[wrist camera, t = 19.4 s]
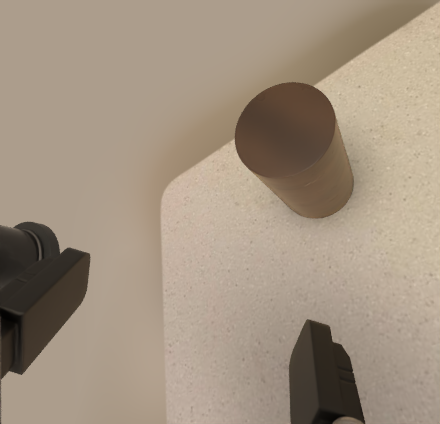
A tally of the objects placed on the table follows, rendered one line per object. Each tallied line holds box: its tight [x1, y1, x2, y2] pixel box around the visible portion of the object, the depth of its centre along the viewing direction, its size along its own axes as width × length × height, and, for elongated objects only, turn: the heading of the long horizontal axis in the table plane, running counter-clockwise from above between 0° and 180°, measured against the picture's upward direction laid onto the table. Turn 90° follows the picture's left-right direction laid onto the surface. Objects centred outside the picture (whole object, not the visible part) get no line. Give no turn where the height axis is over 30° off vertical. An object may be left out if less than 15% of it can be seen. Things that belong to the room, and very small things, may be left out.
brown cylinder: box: [235, 82, 354, 218], centre depth 31 cm, size 7×7×13 cm
